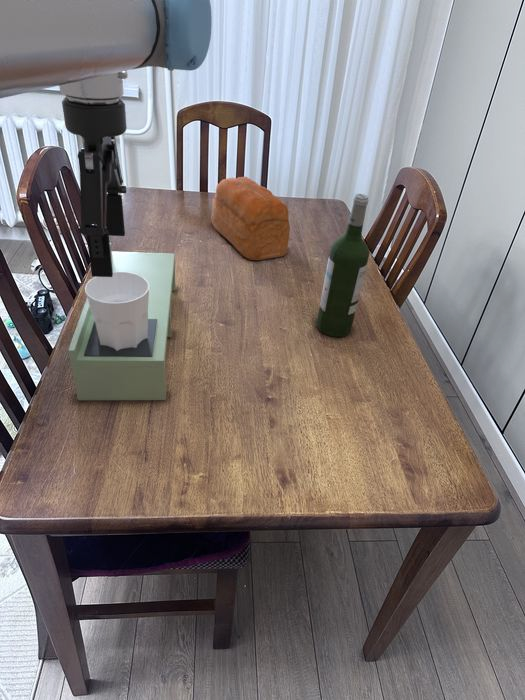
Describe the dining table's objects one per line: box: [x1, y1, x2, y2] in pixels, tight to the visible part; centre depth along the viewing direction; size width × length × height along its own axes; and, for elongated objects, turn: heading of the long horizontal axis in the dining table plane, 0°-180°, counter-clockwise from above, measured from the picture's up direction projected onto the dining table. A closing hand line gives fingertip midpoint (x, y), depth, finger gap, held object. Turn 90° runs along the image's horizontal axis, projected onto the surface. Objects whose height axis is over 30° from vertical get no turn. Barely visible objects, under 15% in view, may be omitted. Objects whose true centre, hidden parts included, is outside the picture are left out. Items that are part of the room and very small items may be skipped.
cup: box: [84, 272, 149, 351], centre depth 82 cm, size 10×10×10 cm
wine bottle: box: [316, 193, 370, 338], centre depth 100 cm, size 8×8×30 cm
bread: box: [210, 176, 291, 261], centre depth 137 cm, size 14×27×15 cm, turn 29°
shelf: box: [67, 242, 177, 401], centre depth 97 cm, size 39×15×11 cm, turn 5°
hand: (109, 254), depth 73 cm, fingers open, 13 cm apart
